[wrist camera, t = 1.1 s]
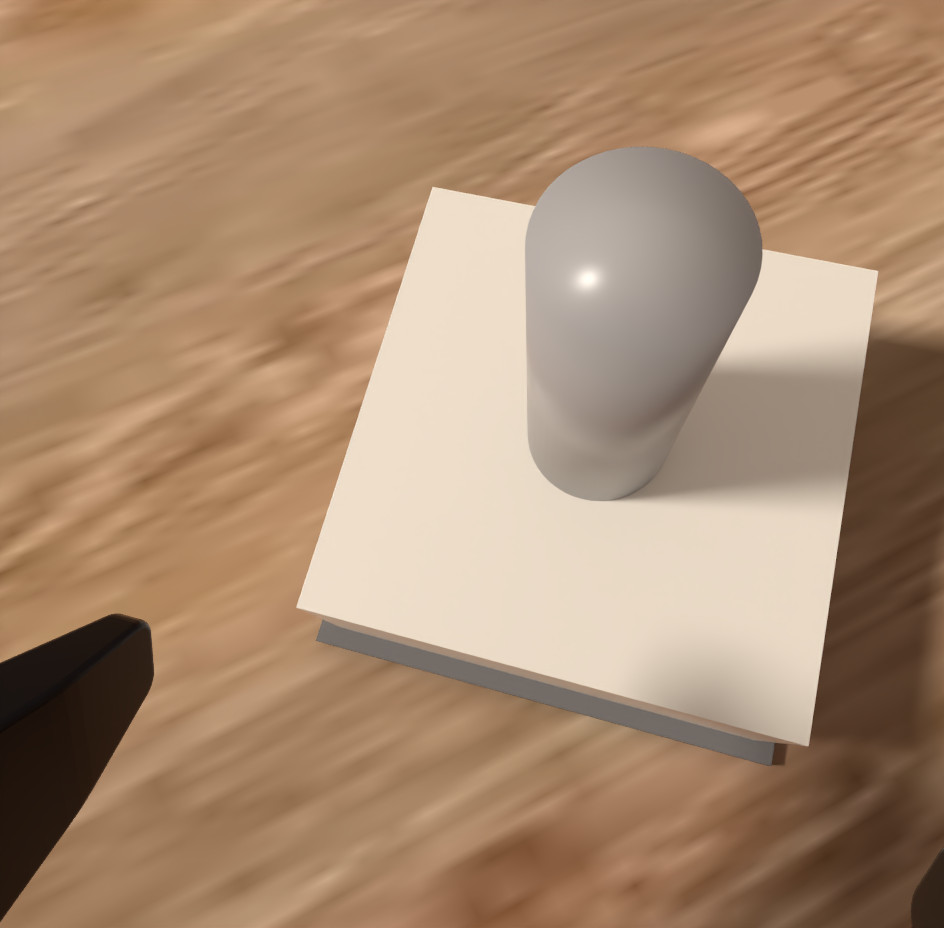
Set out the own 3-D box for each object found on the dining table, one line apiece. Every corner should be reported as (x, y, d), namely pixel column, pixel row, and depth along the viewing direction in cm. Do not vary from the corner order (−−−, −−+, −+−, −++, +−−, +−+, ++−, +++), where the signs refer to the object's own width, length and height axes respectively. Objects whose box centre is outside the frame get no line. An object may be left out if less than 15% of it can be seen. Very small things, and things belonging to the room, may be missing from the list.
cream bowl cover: (754, 740, 20) (1040, 773, 9) (339, 626, 22) (128, 531, 10) (818, 347, 23) (1096, -8, 12) (448, 272, 25) (377, -107, 13)
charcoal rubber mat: (766, 765, 21) (771, 766, 20) (319, 641, 22) (316, 640, 22) (833, 341, 24) (838, 335, 23) (438, 261, 25) (437, 254, 25)
